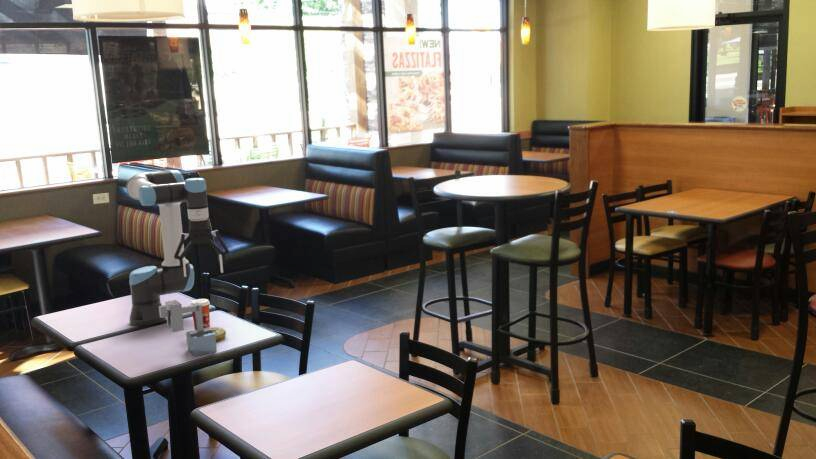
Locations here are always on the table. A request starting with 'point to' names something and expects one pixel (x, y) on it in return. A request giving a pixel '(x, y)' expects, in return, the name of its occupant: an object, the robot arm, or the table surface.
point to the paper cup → (205, 312)
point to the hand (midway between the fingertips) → (203, 274)
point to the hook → (174, 316)
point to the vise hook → (196, 332)
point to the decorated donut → (219, 333)
